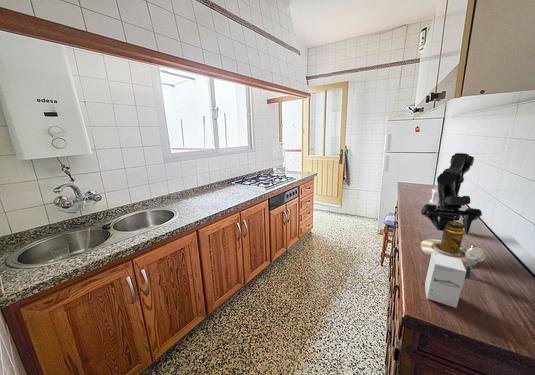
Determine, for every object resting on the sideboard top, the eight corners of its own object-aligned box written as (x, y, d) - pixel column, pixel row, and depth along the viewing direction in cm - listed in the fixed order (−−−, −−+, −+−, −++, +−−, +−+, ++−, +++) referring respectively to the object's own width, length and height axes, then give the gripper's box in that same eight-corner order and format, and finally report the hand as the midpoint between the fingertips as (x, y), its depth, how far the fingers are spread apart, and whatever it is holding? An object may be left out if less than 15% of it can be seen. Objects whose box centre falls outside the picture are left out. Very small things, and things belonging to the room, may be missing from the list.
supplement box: (426, 299, 66) (433, 263, 63) (424, 285, 73) (431, 251, 69) (457, 309, 63) (467, 271, 59) (452, 293, 69) (461, 258, 66)
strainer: (434, 213, 134) (439, 190, 130) (425, 209, 140) (429, 187, 136) (444, 212, 134) (449, 189, 130) (434, 208, 141) (439, 186, 137)
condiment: (461, 256, 84) (468, 228, 81) (434, 250, 88) (440, 223, 85) (457, 248, 90) (464, 221, 87) (432, 243, 94) (437, 217, 91)
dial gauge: (450, 266, 82) (457, 236, 79) (466, 269, 81) (475, 238, 77) (460, 279, 75) (468, 247, 72) (478, 283, 73) (488, 250, 70)
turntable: (415, 239, 100) (416, 236, 100) (463, 246, 94) (464, 243, 94) (428, 261, 84) (428, 257, 83) (487, 271, 78) (488, 267, 77)
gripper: (428, 185, 90) (432, 220, 83) (485, 189, 83) (495, 227, 76) (419, 198, 99) (422, 230, 92) (470, 202, 92) (478, 237, 85)
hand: (452, 231), depth 86 cm, fingers open, 9 cm apart
